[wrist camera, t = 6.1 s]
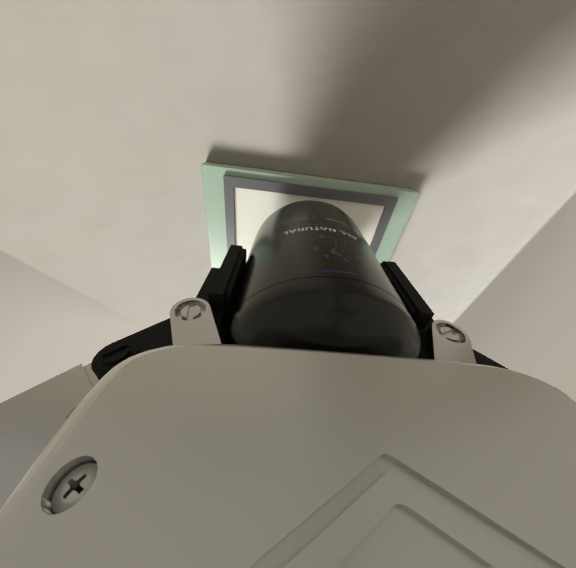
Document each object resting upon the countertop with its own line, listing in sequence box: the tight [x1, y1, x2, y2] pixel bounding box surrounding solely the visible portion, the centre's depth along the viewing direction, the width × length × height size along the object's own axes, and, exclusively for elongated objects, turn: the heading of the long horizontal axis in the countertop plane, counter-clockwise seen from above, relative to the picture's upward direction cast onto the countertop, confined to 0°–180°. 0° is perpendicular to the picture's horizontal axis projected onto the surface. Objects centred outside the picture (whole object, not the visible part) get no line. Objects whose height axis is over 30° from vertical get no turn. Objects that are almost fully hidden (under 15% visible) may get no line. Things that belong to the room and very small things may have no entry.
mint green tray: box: [201, 162, 420, 268], centre depth 19 cm, size 20×14×4 cm
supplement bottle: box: [221, 200, 422, 359], centre depth 10 cm, size 7×7×12 cm
